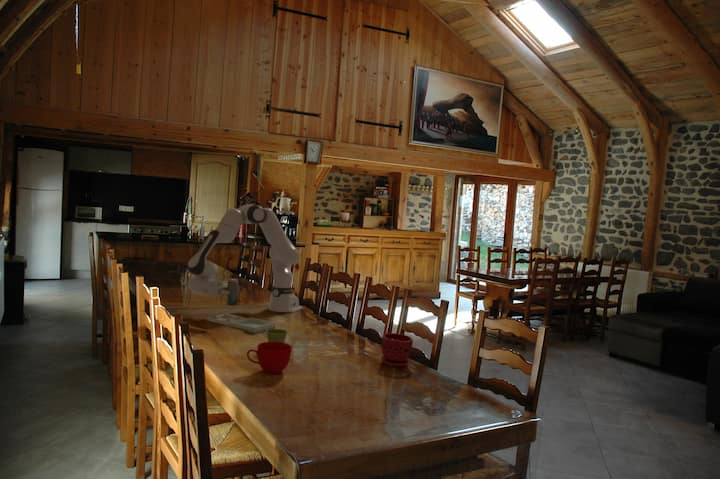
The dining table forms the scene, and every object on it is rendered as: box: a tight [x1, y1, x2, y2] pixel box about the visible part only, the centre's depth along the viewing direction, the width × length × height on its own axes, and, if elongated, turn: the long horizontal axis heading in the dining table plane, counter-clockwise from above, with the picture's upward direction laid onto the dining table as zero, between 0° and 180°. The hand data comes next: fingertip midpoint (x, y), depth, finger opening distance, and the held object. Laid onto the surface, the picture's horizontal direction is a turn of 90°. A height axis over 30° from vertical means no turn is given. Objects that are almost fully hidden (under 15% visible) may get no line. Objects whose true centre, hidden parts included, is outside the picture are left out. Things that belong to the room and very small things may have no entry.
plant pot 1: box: [265, 328, 289, 343], centre depth 238 cm, size 9×9×9 cm
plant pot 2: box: [380, 332, 414, 368], centre depth 232 cm, size 13×13×12 cm
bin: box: [229, 317, 276, 335], centre depth 275 cm, size 16×16×3 cm
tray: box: [206, 313, 247, 326], centre depth 283 cm, size 14×14×3 cm
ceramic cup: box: [246, 341, 293, 375], centre depth 209 cm, size 13×17×10 cm
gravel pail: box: [225, 278, 239, 306], centre depth 281 cm, size 6×6×13 cm
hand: (233, 291), depth 281 cm, fingers closed on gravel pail, 5 cm apart
